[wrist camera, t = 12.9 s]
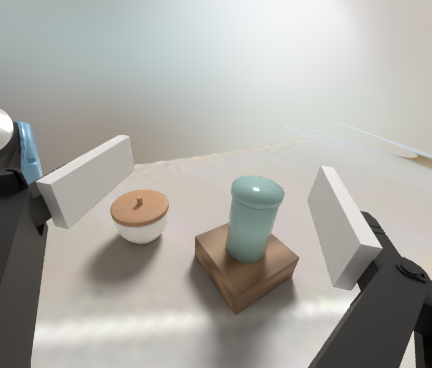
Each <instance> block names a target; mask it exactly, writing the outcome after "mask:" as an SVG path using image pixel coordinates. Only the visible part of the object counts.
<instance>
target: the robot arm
mask: <svg viewBox="0 0 432 368" xmlns="http://www.w3.org/2000/svg"><path fill="white" fill-rule="evenodd" d="M133 171H134V164H133V156H132V150H131V142H130V136H124V135H118V136H116V137H115V138H113V139H111V140H109V141H107V142H106V143H104V144H102V145H100V146H98V147H97V148H95V149H93V150H91V151H89V152H88V153H86V154H84V155H82V156H80V157H79V158H77V159H75V160H74V161H72V162H70V163H68V164H65V165H63V166H61V167H59V168H57V169H56V170H54V171H52V172H50V174H49V173H48V174H46V175H45V176H42V170H41V165H40V160H39V155H38V152H37V147H36V143H35V139H34V135H33V132H32V129H31V126H30V125H29V124H28V123H25V122H19V121H15V122H14V123H13V122H12V120H11V119H10V117H9V116H8V115H7V114H6V113H5V112H4V111H3V110H2V109H0V368H31V355H32V347H33V339H34V331H35V324H36V316H37V308H38V301H39V293H40V285H41V278H42V270H43V262H44V255H45V247H46V239H47V232H48V226H47V223H46V221H48V220H49V219H50V218H51V217H52V219H53V222H54V224H55V226H57V227H62V228H66V229H69V228H70V227H71V226H73V225H74V224H75V223H76V222H77V221H78V220H79V219H80V218H81V217H83V216H84V215H85V214H86V213H87V212H88V211H89V210H90V209H92V208H93V207H94V206H95V205H96V204H97V203H98V202H99V201H100V200H102V199H103V198H104V197H105V196H106V195H107V194H108V193H109V192H111V191H112V190H113V189H114V188H115V187H116V186H117V185H118V184H120V183H121V182H122V181H123V180H124V179H125V178H126V177H127V176H128V175H130V174H131V173H132V172H133ZM307 201H308V204H309V208H310V211H311V215H312V218H313V221H314V225H315V228H316V231H317V235H318V238H319V242H320V245H321V248H322V252H323V255H324V258H325V262H326V265H327V269H328V272H329V275H330V279H331V282H332V285H333V287H337V288H341V289H346V290H350V291H351V290H352V289H353V287H354V286H355V285H356V283H358V285H359V288H360V290H361V292H360V293H359V294H358V296H357V297H356V298H355V299H354V301H353V302H352V303H351V304H350V307H349V309H348V310H347V312H346V313H345V314H344V316H343V317H342V319H341V320H340V322H339V323H338V325H337V326H336V327H335V329H334V330H333V332H332V333H331V335H330V336H329V338H328V339H327V341H326V342H325V343H324V345H323V346H322V348H321V349H320V351H319V352H318V354H317V355H316V357H315V358H314V359H313V361H312V362H311V364H310V365H309V367H308V368H399V367H400V364H401V361H402V359H403V356H404V353H405V350H406V348H407V345H408V342H409V340H410V337H411V334H412V332H413V331H414V340H415V358H416V368H432V280H430V278H429V277H428V275H427V273H426V272H425V271H424V270H423V269H422V268H421V267H420V266H418V265H417V264H416V263H414V262H413V261H411V260H408V259H406V258H404V257H401V256H400V254H399V253H398V251H397V250H396V248H395V247H394V245H393V244H392V242H391V241H390V240H389V238H388V237H387V235H385V232H384V231H383V229H381V226H380V225H379V223H378V222H377V220H376V219H375V218H373V217H372V216H371V215H370V214H369V213H367V212H362V211H360V210H359V209H358V207H357V205H356V204H355V202H354V200H353V199H352V197H351V196H350V194H349V192H348V191H347V189H346V187H345V186H344V184H343V183H342V181H341V179H340V178H339V176H338V174H337V173H336V171H335V169H334V168H333V167H327V166H320V169H319V171H318V174H317V176H316V179H315V182H314V184H313V187H312V189H311V192H310V194H309V197H308V199H307Z"/></svg>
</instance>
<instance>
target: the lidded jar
mask: <svg viewBox="0 0 432 368" xmlns="http://www.w3.org/2000/svg"><path fill="white" fill-rule="evenodd" d="M168 208H169V204H168V199H167V198H166V197H165V196H164V195H163V194H162V193H160V192H157V191H153V190H137V191H132V192H129V193H126V194H124V195H122V196H120V197H119V198H117V199H116V200H115V201H114V202H113V204H112V206H111V209H110V212H111V216H112V218H113V221H114V224H115V227H116V229H117V231H118V232H119V234H120V235H121V236H122V237H123V238H125V239H126V240H128V241H130V242H134V243H137V244H146V243H149V242H152V241H153V240H155V239H156V238H157V237H158V236H159V235H160V234H161V233H162V232H163V231H164V229H165V227H166V225H167V221H168Z"/></svg>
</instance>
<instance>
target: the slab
mask: <svg viewBox="0 0 432 368" xmlns="http://www.w3.org/2000/svg"><path fill="white" fill-rule="evenodd" d="M228 224H229V223H227V224H225V225H222V226H220V227H217V228H215V229H213V230H210V231H208V232H205V233H203V234H200V235H198V236H195V256H196V257H197V259H198V260H199V262H200V263H201V265H202V266H203V268H204V269H205V271H206V272H207V273H208V275H209V276H210V278H211V279H212V281H213V282H214V284H215V285H216V287H217V288H218V290H219V291H220V292H221V294H222V295H223V297H224V298H225V300H226V301H227V303H228V304H229V306H230V307H231V309H232V310H233V312H234V313H235V314H236V315H237V314H238V313H240V312H241V311H242V310H244V309H245V308H247V307H248V306H250V305H251V304H252V303H254V302H255V301H257V300H258V299H260V298H261V297H263V296H264V295H265V294H267V293H268V292H270V291H271V290H273V289H274V288H275V287H277V286H278V285H280V284H281V283H283V282H284V281H285V280H287V279H288V278H290V277H291V276H292V275H293V272H294V270H295V267H296V265H297V262H298V260H299V257H298V256H297V255H296V254H295V253H293V252H292V251H291V250H290V249H289V248H288V247H286V246H285V245H284V244H283V243H282V242H281V241H279V240H278V239H277V238H276V237H275V236H274V235H272V234H271V235H270V238H269V242H268V245H267V249H266V252H265V256H264V257H263V259H262V260H260V261H259V262H256V263H251V264H248V263H242V262H239V261H237V260H235V259H234V258H232V257H231V256H230V255H229V253H228V252H227V250H226V239H227V231H228Z"/></svg>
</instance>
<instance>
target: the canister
mask: <svg viewBox="0 0 432 368" xmlns="http://www.w3.org/2000/svg"><path fill="white" fill-rule="evenodd" d="M231 194H232V203H231V210H230V217H229V224H228V231H227V239H226V250H227V252H228V253H229V255H230V256H231V257H232V258H234V259H235V260H237V261H239V262H242V263H248V264H251V263H256V262H259V261H260V260H262V259H263V257H264V256H265V252H266V249H267V245H268V242H269V238H270V235H271V231H272V228H273V224H274V221H275V217H276V214H277V210H278V207H279V206H280V205H281V203H282V201H283V198H284V191H283V189H282V187H281V186H280V185H278V184H277V183H276V182H274V181H272V180H270V179H267V178H263V177H259V176H243V177H240V178H237V179H236V180H234V181H233V183H232V188H231Z"/></svg>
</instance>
